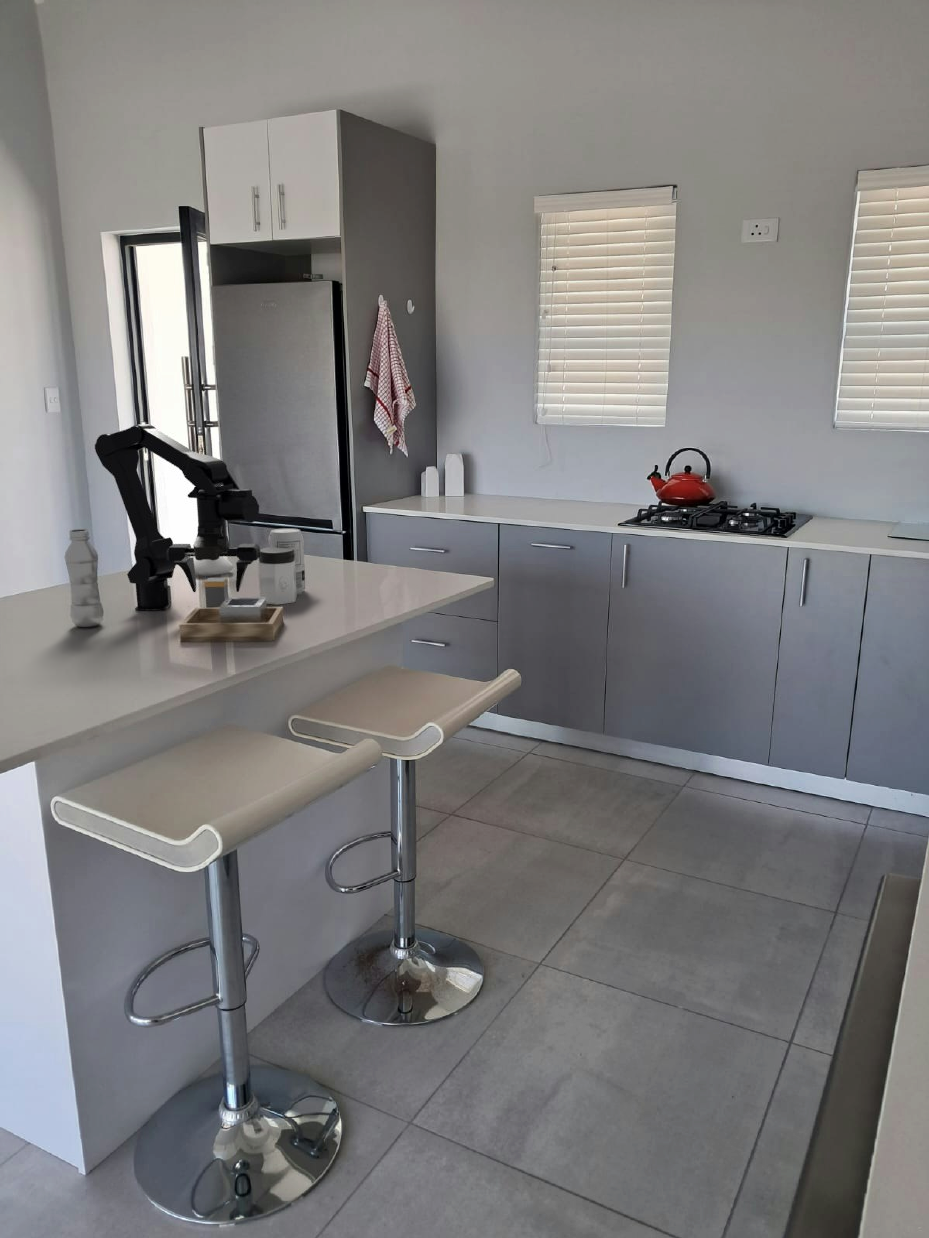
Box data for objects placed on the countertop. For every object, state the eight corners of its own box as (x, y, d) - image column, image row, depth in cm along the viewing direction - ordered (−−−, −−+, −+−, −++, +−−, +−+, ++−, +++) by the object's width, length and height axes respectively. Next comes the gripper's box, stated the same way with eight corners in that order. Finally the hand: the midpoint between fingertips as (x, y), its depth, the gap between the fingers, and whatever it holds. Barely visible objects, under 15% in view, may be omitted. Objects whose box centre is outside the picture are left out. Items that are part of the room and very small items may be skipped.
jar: (267, 606, 209) (264, 554, 206) (253, 599, 216) (251, 548, 213) (303, 601, 214) (301, 550, 211) (289, 595, 221) (287, 545, 218)
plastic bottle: (73, 631, 188) (63, 533, 183) (70, 624, 193) (60, 529, 188) (107, 628, 191) (97, 531, 186) (102, 620, 196) (93, 527, 191)
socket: (221, 636, 185) (219, 606, 183) (228, 626, 192) (227, 597, 191) (261, 635, 185) (259, 606, 184) (267, 625, 193) (266, 597, 191)
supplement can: (264, 594, 222) (261, 532, 218) (283, 587, 229) (280, 527, 225) (293, 597, 219) (290, 534, 215) (311, 590, 226) (309, 529, 222)
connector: (206, 618, 199) (204, 581, 197) (210, 613, 203) (208, 577, 201) (226, 618, 199) (223, 581, 197) (229, 613, 203) (227, 577, 201)
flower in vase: (227, 578, 239) (221, 481, 232) (183, 578, 239) (176, 481, 232) (239, 569, 251) (234, 476, 245) (198, 568, 251) (191, 476, 245)
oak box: (180, 641, 180) (179, 624, 180) (196, 623, 194) (195, 607, 193) (273, 641, 181) (272, 623, 181) (283, 623, 195) (282, 606, 194)
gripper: (156, 525, 188) (162, 600, 191) (249, 525, 188) (253, 600, 192) (170, 517, 198) (176, 588, 202) (258, 517, 199) (262, 588, 203)
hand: (216, 591), depth 200 cm, fingers open, 9 cm apart
